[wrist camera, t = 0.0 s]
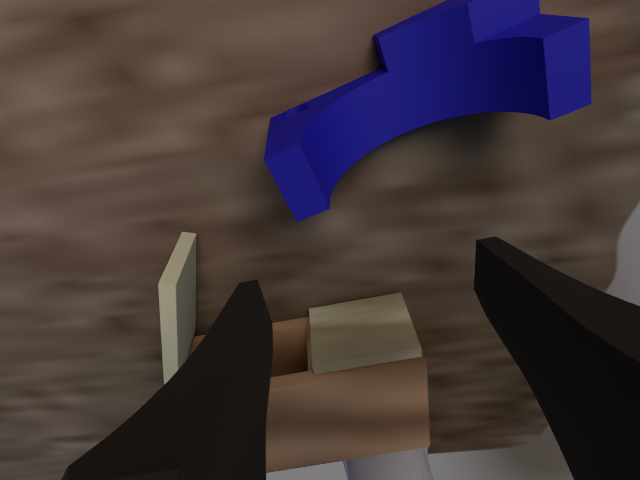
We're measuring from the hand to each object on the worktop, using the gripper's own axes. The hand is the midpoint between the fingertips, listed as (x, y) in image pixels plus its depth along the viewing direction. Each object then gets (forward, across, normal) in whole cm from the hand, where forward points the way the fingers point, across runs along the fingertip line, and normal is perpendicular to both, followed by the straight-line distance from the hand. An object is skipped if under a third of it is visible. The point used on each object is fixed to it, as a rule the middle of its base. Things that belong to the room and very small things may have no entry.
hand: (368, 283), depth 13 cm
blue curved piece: (+10, -3, -4) cm, 12 cm away
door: (+10, +11, +6) cm, 16 cm away
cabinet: (+10, +4, +15) cm, 19 cm away
